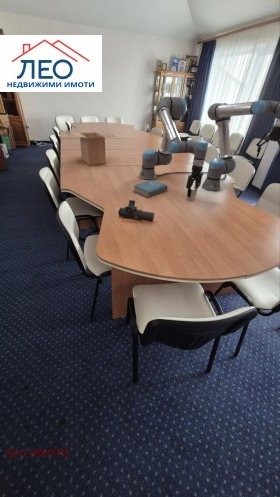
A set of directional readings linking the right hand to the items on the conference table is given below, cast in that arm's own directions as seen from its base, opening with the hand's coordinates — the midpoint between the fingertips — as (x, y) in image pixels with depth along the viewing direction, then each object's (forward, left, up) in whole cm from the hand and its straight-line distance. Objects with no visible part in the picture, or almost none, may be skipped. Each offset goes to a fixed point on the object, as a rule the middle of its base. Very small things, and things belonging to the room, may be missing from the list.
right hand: (266, 158), depth 162 cm
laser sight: (+96, -43, -31) cm, 110 cm away
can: (+41, -34, -30) cm, 61 cm away
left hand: (+41, -34, -28) cm, 60 cm away
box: (+32, -158, -31) cm, 164 cm away
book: (+52, -65, -31) cm, 89 cm away
